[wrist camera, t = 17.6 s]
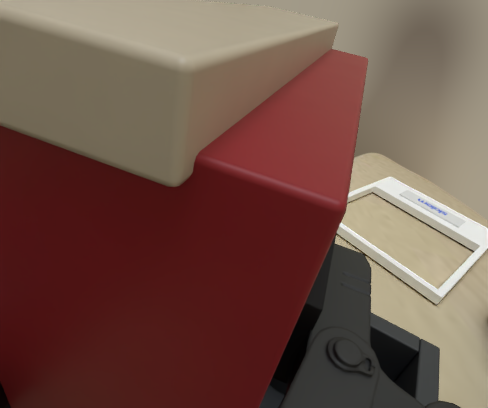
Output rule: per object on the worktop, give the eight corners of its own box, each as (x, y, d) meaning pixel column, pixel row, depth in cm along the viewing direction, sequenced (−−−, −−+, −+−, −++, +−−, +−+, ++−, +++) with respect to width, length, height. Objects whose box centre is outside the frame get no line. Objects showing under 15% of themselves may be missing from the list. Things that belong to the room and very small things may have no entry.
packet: (47, 523, 9) (-227, -59, 2) (187, 305, 16) (232, -3, 9) (174, 601, 9) (396, 116, 1) (264, 338, 15) (378, 32, 8)
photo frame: (500, 233, 39) (443, 296, 28) (495, 240, 40) (436, 304, 28) (390, 175, 47) (312, 205, 36) (387, 181, 48) (309, 213, 37)
